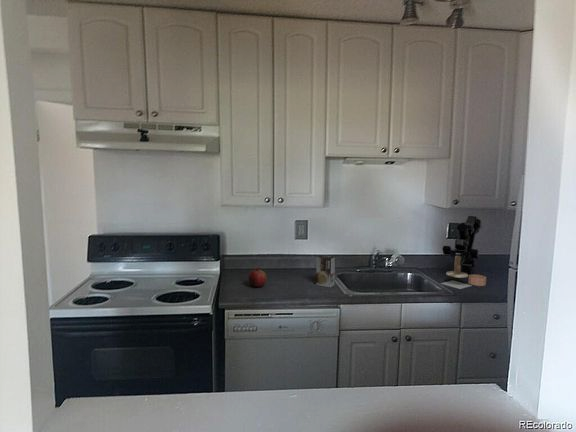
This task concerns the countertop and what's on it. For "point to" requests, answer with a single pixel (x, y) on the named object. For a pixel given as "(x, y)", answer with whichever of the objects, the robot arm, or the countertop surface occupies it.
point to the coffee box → (325, 271)
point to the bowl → (477, 280)
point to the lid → (457, 269)
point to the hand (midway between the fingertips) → (457, 264)
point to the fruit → (257, 277)
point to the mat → (456, 284)
